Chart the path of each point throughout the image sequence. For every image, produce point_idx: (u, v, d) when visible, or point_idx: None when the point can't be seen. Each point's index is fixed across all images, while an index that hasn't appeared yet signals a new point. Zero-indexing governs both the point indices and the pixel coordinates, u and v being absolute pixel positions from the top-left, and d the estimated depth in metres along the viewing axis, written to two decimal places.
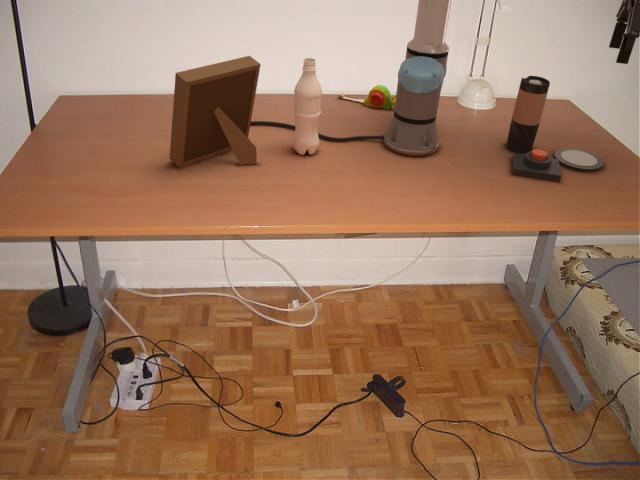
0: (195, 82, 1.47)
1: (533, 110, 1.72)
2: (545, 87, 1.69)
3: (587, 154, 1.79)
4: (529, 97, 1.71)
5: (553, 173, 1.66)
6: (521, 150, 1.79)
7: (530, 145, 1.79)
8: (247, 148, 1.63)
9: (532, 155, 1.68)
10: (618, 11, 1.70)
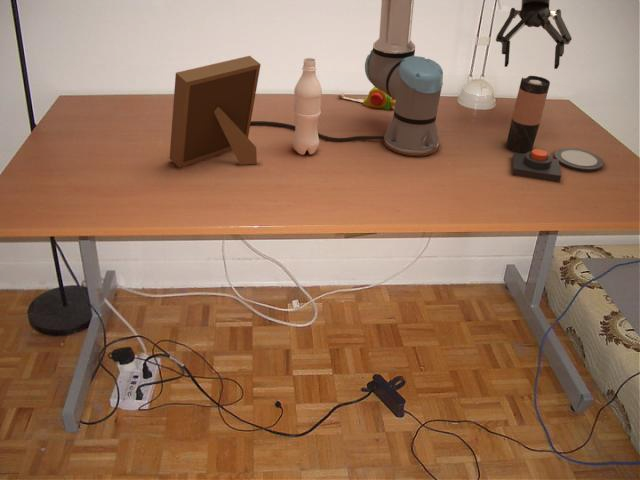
0: (195, 82, 1.47)
1: (533, 110, 1.72)
2: (545, 87, 1.69)
3: (587, 154, 1.79)
4: (529, 97, 1.71)
5: (553, 173, 1.66)
6: (521, 150, 1.79)
7: (530, 145, 1.79)
8: (247, 148, 1.63)
9: (532, 155, 1.68)
10: (500, 32, 1.81)
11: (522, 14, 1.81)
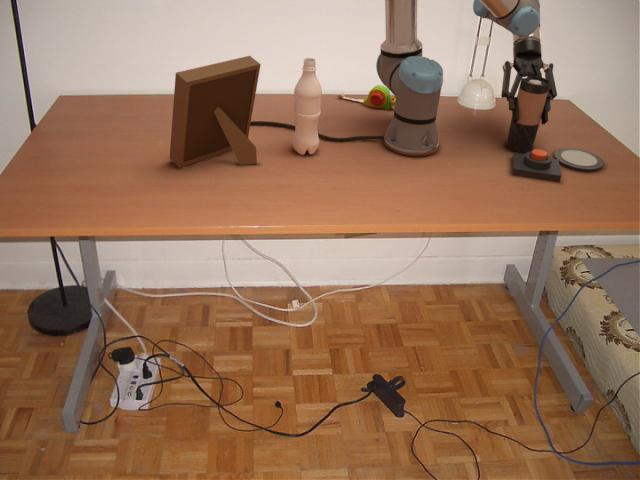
0: (195, 82, 1.47)
1: (533, 110, 1.72)
2: (545, 87, 1.69)
3: (587, 154, 1.79)
4: (529, 97, 1.71)
5: (553, 173, 1.66)
6: (521, 150, 1.79)
7: (530, 145, 1.79)
8: (247, 148, 1.63)
9: (532, 155, 1.68)
10: (505, 88, 1.75)
11: (517, 64, 1.77)
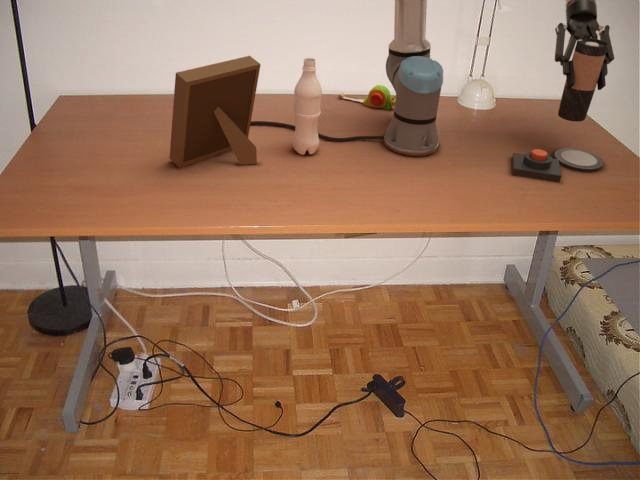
0: (195, 82, 1.47)
1: (589, 74, 1.62)
2: (604, 49, 1.59)
3: (587, 154, 1.79)
4: (586, 60, 1.61)
5: (553, 173, 1.66)
6: (575, 118, 1.69)
7: (584, 112, 1.69)
8: (247, 148, 1.63)
9: (532, 155, 1.68)
10: (560, 51, 1.65)
11: (572, 26, 1.66)
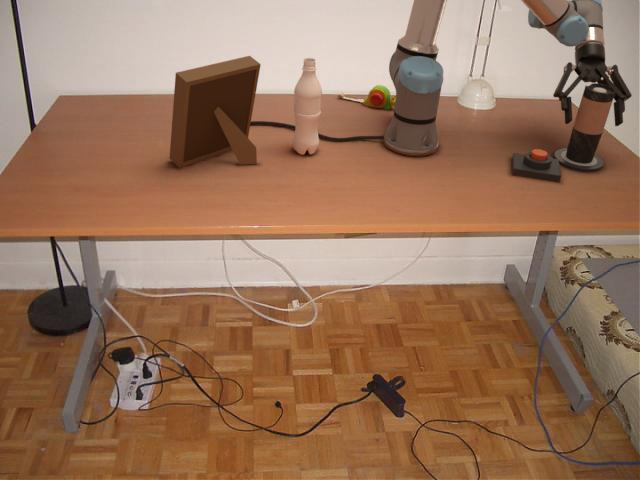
0: (195, 82, 1.47)
1: (597, 119, 1.67)
2: (611, 95, 1.64)
3: None
4: (594, 106, 1.65)
5: (553, 173, 1.66)
6: (583, 160, 1.74)
7: (592, 155, 1.73)
8: (247, 148, 1.63)
9: (532, 155, 1.68)
10: (559, 88, 1.69)
11: (579, 69, 1.71)
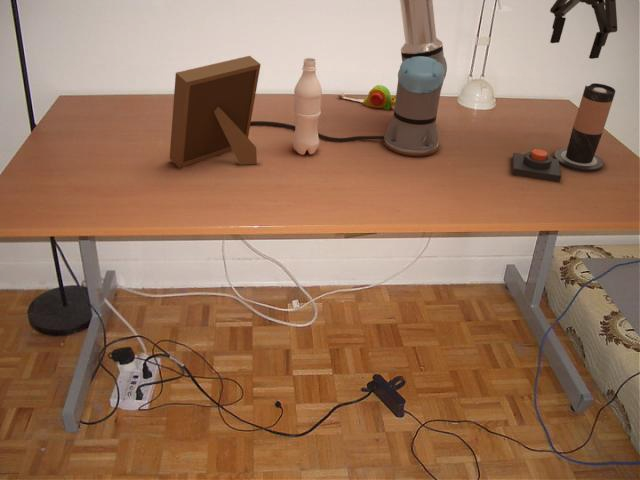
0: (195, 82, 1.47)
1: (597, 119, 1.67)
2: (611, 95, 1.64)
3: None
4: (594, 106, 1.65)
5: (553, 173, 1.66)
6: (583, 160, 1.74)
7: (592, 155, 1.73)
8: (247, 148, 1.63)
9: (532, 155, 1.68)
10: (553, 6, 1.70)
11: None
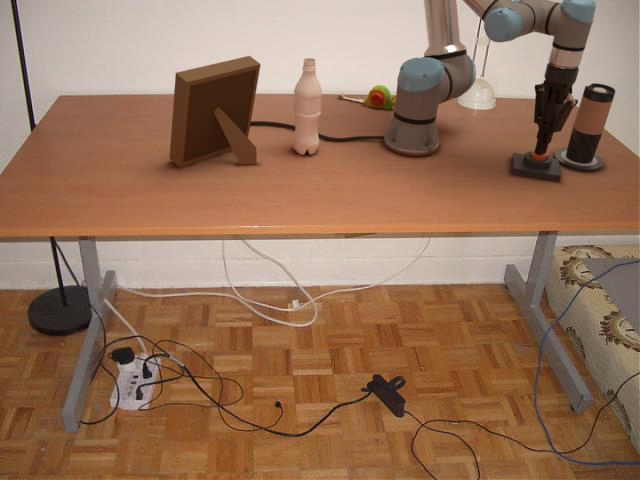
0: (195, 82, 1.47)
1: (597, 119, 1.67)
2: (611, 95, 1.64)
3: None
4: (594, 106, 1.65)
5: (553, 173, 1.66)
6: (583, 160, 1.74)
7: (592, 155, 1.73)
8: (247, 148, 1.63)
9: (532, 156, 1.69)
10: (535, 117, 1.66)
11: (545, 87, 1.61)
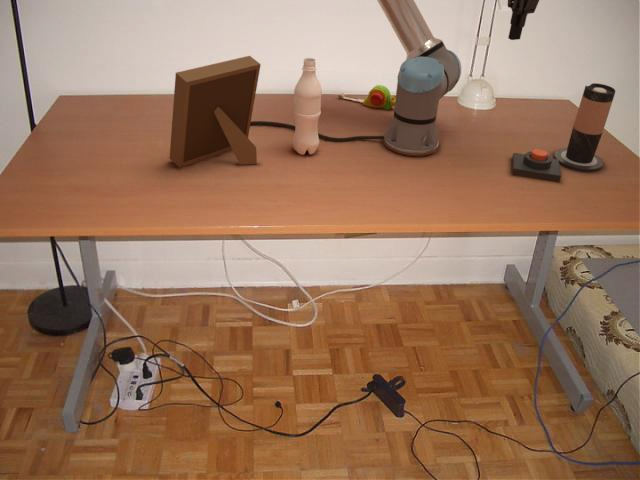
0: (195, 82, 1.47)
1: (597, 119, 1.67)
2: (611, 95, 1.64)
3: None
4: (594, 106, 1.65)
5: (553, 173, 1.66)
6: (583, 160, 1.74)
7: (592, 155, 1.73)
8: (247, 148, 1.63)
9: (532, 155, 1.68)
10: (508, 0, 1.64)
11: None
